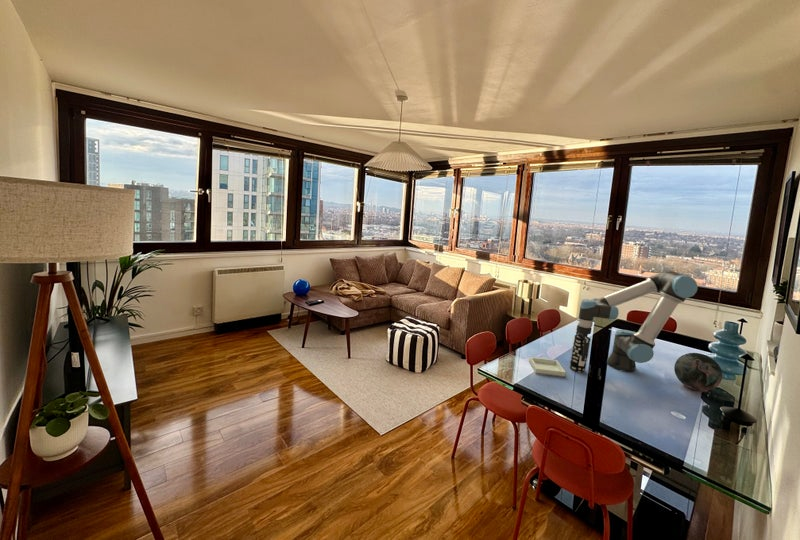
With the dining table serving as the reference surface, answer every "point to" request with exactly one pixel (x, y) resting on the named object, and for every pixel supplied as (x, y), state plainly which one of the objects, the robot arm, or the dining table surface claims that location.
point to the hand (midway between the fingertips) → (578, 362)
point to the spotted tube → (577, 355)
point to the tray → (547, 366)
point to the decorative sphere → (698, 371)
